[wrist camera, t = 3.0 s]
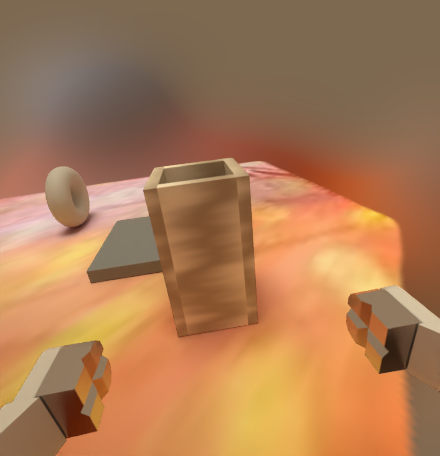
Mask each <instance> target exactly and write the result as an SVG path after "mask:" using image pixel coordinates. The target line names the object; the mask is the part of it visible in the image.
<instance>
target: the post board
mask: <svg viewBox="0 0 440 456" xmlns="http://www.w3.org/2000/svg"><path fill="white" fill-rule="evenodd" d="M157 272H163V271H162V267H161V262H160V258H159V254H158V250H157V246H156V242H155V237H154V233H153V229H152V225H151V221H150V217H149V216H148V217H141V218H134V219H127V220H120V221H117V222H116V224H115V225H114V227H113V229H112V230H111V232H110V234H109V235H108V237H107V239H106V240H105V242H104V243H103V245H102V247H101V248H100V250H99V252H98V253H97V255H96V257H95V258H94V260H93V262H92V263H91V265H90V267H89V268H88V270H87V274H88V277H89V279H90V282H91V283H93V282H100V281H106V280H112V279H119V278H125V277H131V276H138V275H144V274H150V273H157Z"/></svg>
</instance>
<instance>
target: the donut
mask: <svg viewBox="0 0 440 456" xmlns="http://www.w3.org/2000/svg"><path fill="white" fill-rule="evenodd" d="M45 194H46V200H47V203H48V207H49V209H50V211H51V213H52V215H53V216H54V217H55V219H56V220H57V221H58V222H60V223H61V224H63V225H64V226H67V227H77V226H79V225H81V224H82V223H84V222H85V220H86V219H87V217H88V213H89V196H88V192H87V188H86V186H85V184H84V182H83V180H82V178H81V177H80V175H79V174H78V173H77V172H76V171H74V170H73V169H71V168H69V167H57V168H55V169H53V170H52V171H51V172H50V173H49V175H48V177H47V179H46V184H45Z"/></svg>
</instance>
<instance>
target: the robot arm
mask: <svg viewBox="0 0 440 456" xmlns="http://www.w3.org/2000/svg"><path fill="white" fill-rule="evenodd" d="M348 305H349V306H350V307H351V309H350V311H349V312H348V313H347V317H346V323H347V327H348V331H349V333H350V335H351V337H352V338H353V340H354V341H355V342H356V343H357V344H358V345H360V346H362V347H364V348H365V356H366V357H367V359H368V360H369V361H370V363H371V364H372V365H373V367H374V368H375V369H376V371H377V372H378V373H379V374H381V373H387V372H393V371H399V370H405V369H407V370H406V371H408V372H409V373H411V374H412V375H414V376H415V377H417V378H418V379H420V380H421V381H423V382H424V383H426V384H428V385H429V386H431V387H432V388H434V389H435V390H437V391H438V392H440V319H439V318H438V317H437V316H435V315H434V314H433V313H432V312H430V311H429V310H428V309H427V308H425V307H424V306H423V305H422V304H420V303H419V302H418V301H417V300H415V299H414V298H413V297H412V296H410V295H409V294H408V293H407V292H406V291H404V290H403V289H402V288H401V287H398V286H396V285H394V286H389V287H384V288H380V289H374V290H369V291H364V292H359V293H353V294H350V296H349V298H348ZM102 352H103V347H102V344H101V342H100V341H90V342H84V343H77V344H71V345H65V346H61V347H54V348H48V349H46V350H45V351H44V352H42V354H41V356H40V357H39V359H38V361H37V362H36V364H35V366H34V367H33V369H32V371H31V372H30V374H29V376H28V377H27V379H26V381H25V382H24V384H23V386H22V387H21V389H20V391H19V392H18V394H17V396H16V397H15V399H14V401H13V402H11V403H7V404H5V405H4V406H3V407H2V408H1V409H0V456H55V455H56V454H57V453H58V451H59V450H60V449H61V447H62V446H63V444H64V443H65V442H66V438H70V437H74V436H79V435H83V434H87V433H91V432H96V431H98V428H99V424H100V420H101V417H102V413H103V410H104V405H103V403H102V398H103V397H104V396H105V395H106V394H107V393H108V391H109V388H110V384H111V366H110V363H109V360H108V359H107V358H106V357H104V356H102Z"/></svg>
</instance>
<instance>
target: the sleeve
mask: <svg viewBox="0 0 440 456" xmlns="http://www.w3.org/2000/svg"><path fill="white" fill-rule="evenodd" d="M143 192H144V196H145V200H146V204H147V208H148V212H149V217H150V221H151V225H152V229H153V233H154V237H155V242H156V246H157V250H158V254H159V258H160V262H161V267H162V271H163V275H164V279H165V283H166V287H167V292H168V296H169V300H170V304H171V308H172V313H173V317H174V321H175V325H176V329H177V333H178V337H181V336H187V335H193V334H198V333H204V332H210V331H215V330H221V329H227V328H233V327H238V326H244V325H250V324H255V323H258V313H257V296H256V279H255V262H254V246H253V229H252V212H251V195H250V178H249V175H248V174H247V173H246V171H245V170H244V169H243V168H242V167H241V166H240V165H239V164H238V163H237V162H236V161H235V160H234V159H233V158H226V159H218V160H211V161H203V162H196V163H188V164H181V165H173V166H165V167H158V168H154V170H153V172H152V174H151V176H150V178H149V179H148V181H147V183H146V185H145V187H144V189H143Z"/></svg>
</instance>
